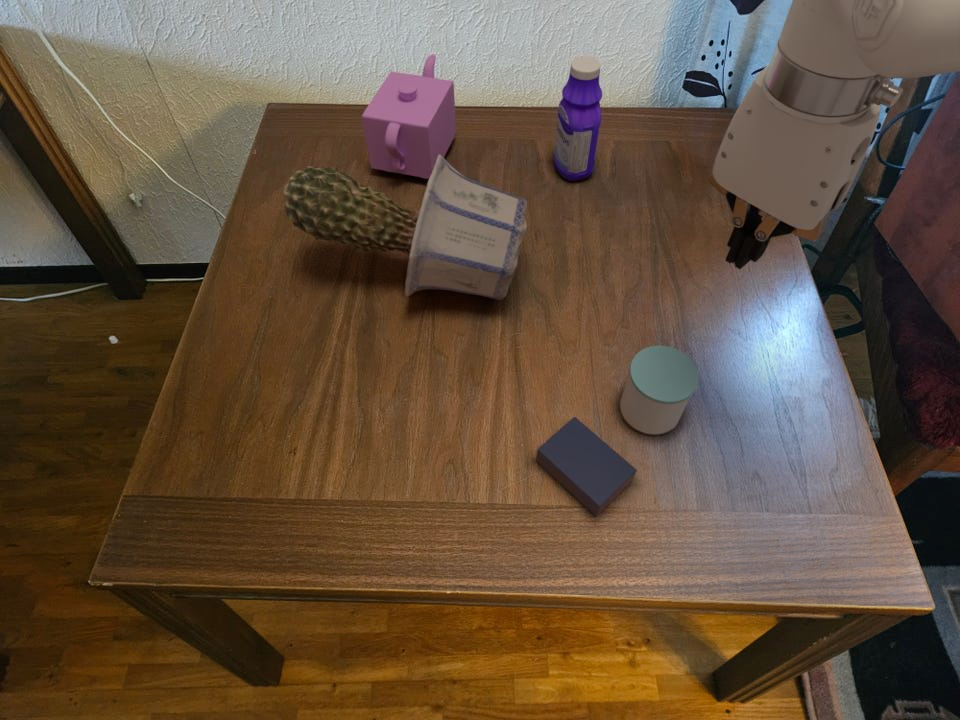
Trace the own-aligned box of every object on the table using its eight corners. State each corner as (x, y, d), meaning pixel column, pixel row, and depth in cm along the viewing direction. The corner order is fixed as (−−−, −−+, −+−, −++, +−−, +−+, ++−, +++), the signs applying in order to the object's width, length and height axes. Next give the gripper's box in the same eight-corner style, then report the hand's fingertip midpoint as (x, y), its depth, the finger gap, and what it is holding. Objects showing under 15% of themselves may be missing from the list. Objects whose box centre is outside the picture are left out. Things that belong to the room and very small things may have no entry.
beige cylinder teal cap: (612, 411, 78) (666, 348, 77) (658, 451, 75) (716, 386, 74) (593, 397, 69) (654, 326, 68) (645, 442, 66) (710, 367, 65)
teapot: (428, 198, 97) (420, 126, 86) (366, 186, 98) (352, 114, 88) (466, 121, 108) (464, 49, 97) (410, 112, 109) (402, 40, 99)
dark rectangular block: (632, 481, 70) (637, 470, 67) (595, 517, 68) (599, 506, 65) (571, 428, 74) (574, 415, 71) (535, 460, 71) (536, 448, 69)
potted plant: (544, 153, 80) (305, 87, 76) (531, 262, 70) (258, 192, 67) (508, 244, 94) (307, 191, 91) (494, 343, 85) (268, 290, 81)
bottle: (547, 158, 102) (556, 53, 87) (580, 151, 103) (594, 46, 88) (564, 187, 98) (576, 82, 83) (598, 179, 99) (616, 74, 84)
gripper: (951, 97, 43) (834, 280, 58) (761, 19, 50) (699, 201, 65) (898, 143, 41) (789, 323, 56) (704, 54, 47) (653, 237, 62)
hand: (741, 257), depth 60 cm, fingers closed
